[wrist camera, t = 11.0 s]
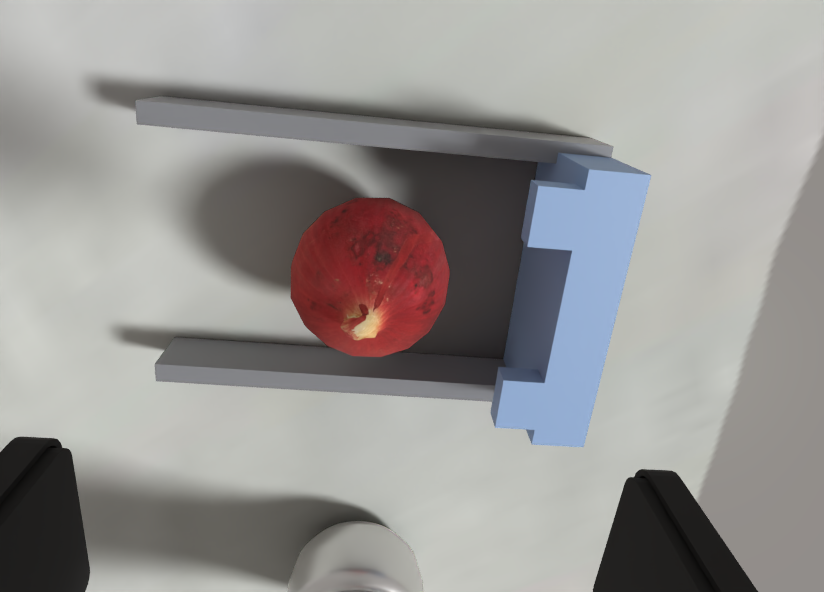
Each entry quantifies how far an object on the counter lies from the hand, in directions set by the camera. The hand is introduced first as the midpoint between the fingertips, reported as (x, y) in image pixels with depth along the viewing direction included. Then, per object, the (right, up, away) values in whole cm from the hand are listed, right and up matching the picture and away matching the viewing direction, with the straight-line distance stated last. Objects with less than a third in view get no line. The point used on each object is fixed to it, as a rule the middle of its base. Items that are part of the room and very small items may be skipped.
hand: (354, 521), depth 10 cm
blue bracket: (+7, +5, +16) cm, 18 cm away
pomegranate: (-1, +6, +15) cm, 16 cm away
